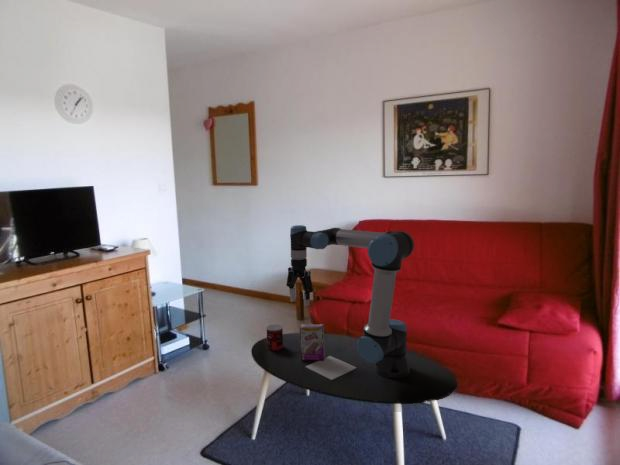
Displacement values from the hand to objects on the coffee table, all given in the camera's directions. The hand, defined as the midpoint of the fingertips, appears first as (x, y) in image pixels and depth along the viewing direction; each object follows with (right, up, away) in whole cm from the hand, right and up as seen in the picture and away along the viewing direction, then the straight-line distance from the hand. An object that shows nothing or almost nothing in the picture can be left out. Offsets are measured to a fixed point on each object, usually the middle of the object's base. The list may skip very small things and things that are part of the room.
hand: (299, 303), depth 211 cm
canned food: (-13, -25, +11) cm, 30 cm away
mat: (+15, -27, -11) cm, 33 cm away
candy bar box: (+6, -26, -3) cm, 27 cm away
